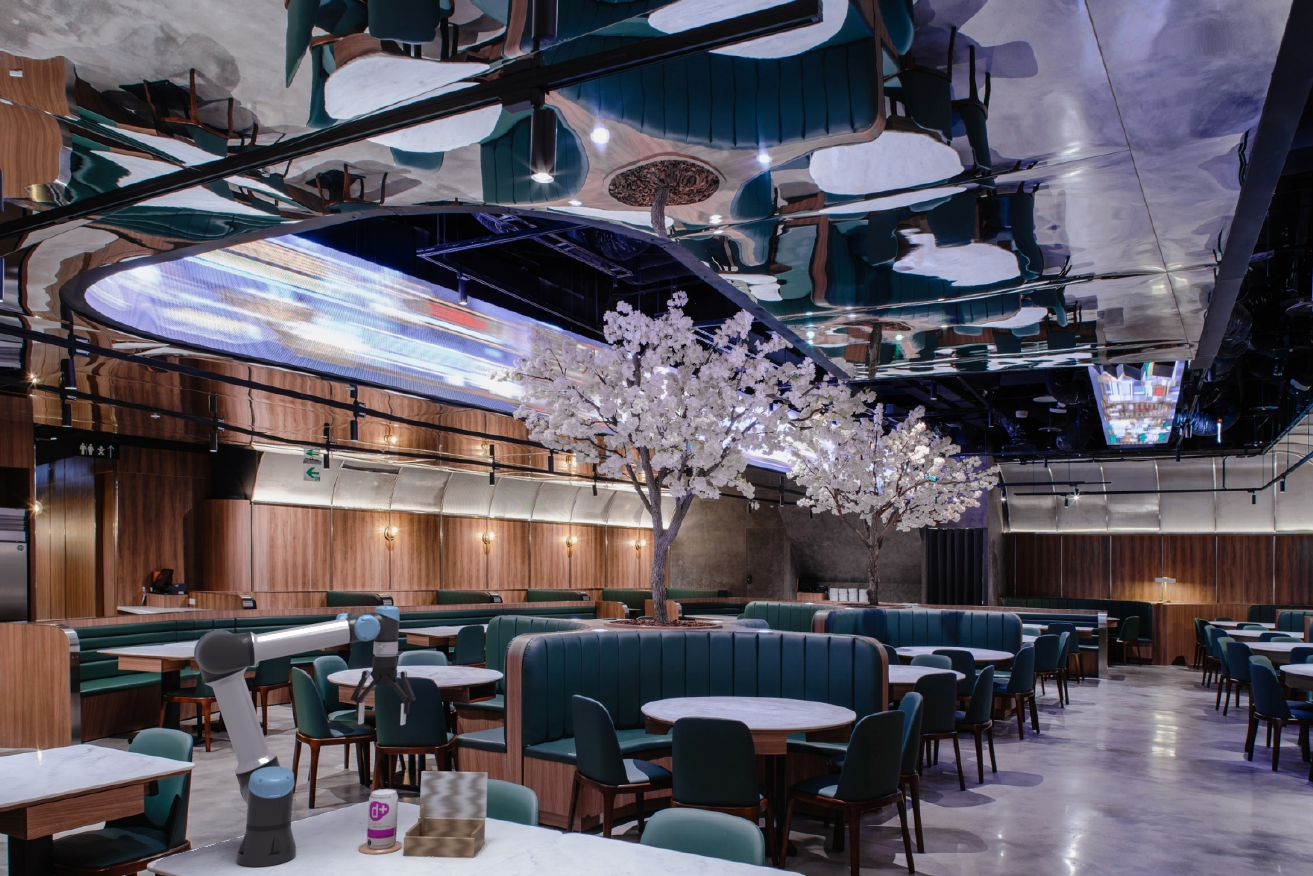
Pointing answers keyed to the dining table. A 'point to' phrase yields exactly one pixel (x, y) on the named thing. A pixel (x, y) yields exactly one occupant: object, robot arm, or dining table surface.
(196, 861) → the dining table surface
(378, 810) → the supplement can
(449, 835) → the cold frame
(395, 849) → the saucer
